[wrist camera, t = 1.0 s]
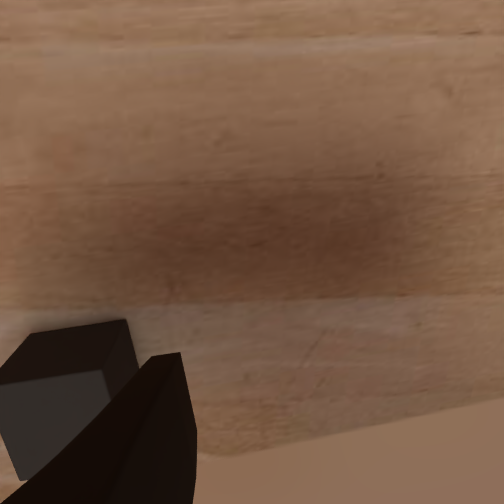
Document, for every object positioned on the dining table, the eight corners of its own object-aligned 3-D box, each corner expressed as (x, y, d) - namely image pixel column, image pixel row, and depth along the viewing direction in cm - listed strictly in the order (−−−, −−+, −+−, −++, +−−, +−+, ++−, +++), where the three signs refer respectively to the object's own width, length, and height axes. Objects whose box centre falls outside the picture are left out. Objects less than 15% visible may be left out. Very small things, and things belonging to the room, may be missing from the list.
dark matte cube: (147, 400, 21) (129, 465, 17) (57, 414, 21) (19, 482, 17) (126, 318, 20) (101, 369, 16) (29, 334, 20) (-20, 388, 16)
